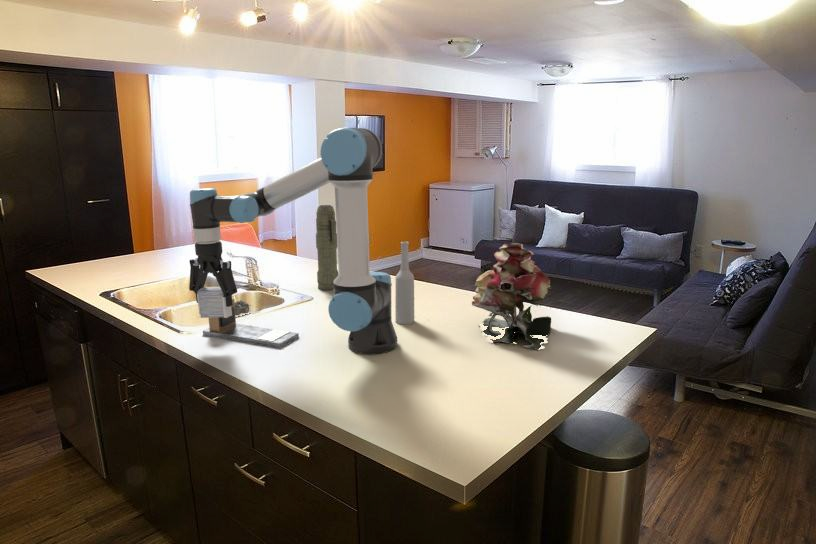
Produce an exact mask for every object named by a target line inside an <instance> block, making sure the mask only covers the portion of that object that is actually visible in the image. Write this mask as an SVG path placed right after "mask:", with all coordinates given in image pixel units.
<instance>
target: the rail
mask: <svg viewBox="0 0 816 544" xmlns="http://www.w3.org/2000/svg"><path fill="white" fill-rule="evenodd" d="M234 302H235V298H232V303H233V304H232V306H231V309H232V316H229V317H227V318H224V317H212V318H208V326H209V327H207V328H206V329H203V330H202V336H206V337H213V338H219V339H224V340H231V341H236V342H242V343H248V344H254V345H259V346H265V347H266V346H267V347H272V348H278V349H281V348H283V347H285V346H287V345H289V344H290V343H292V342H294V341H295V340H297V339H299V337H300V336H299V332H293V331H286V330H281V329H273V328H268V327H267V328H266V327H262V326H261V327H260V326H254V325H247V324H242V323H241V324H240V323H237V320H236V315H235V305H234Z"/></svg>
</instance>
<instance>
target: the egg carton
mask: <svg viewBox="0 0 816 544" xmlns="http://www.w3.org/2000/svg"><path fill="white" fill-rule="evenodd" d="M234 305H235V316H240V315H241V314H248V313H250V307H252V306H251V304H249V303H248V302H246V301H244V300H243V299H240V300H239V301H234Z"/></svg>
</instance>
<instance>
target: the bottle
mask: <svg viewBox="0 0 816 544" xmlns="http://www.w3.org/2000/svg"><path fill="white" fill-rule="evenodd" d="M400 244H401V245H400V269H399V271H398V273H397V274H396V275H395V292H394V293H395V295H394V296H395V297H394V298H395V307H394V308H395V313H394V314H395V315H394V316H395V323H396V324H399V325H404V324H405V325H411V323H412V324H413V323H415V276H414V274H413V273H412V272H411V270H410V264H409V263H410V262H409V244H410V243H409V241H401V242H400Z"/></svg>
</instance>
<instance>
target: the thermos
mask: <svg viewBox="0 0 816 544" xmlns="http://www.w3.org/2000/svg"><path fill="white" fill-rule="evenodd" d="M315 215H316V219H315V222H316V224H315V226H316V233H315V246H316V250H317V269H318V270H317V272H316V274H317V275H316V279H317V281H316V282H317V288H318V290H321V291H334V280H335V279H336V277H337V276H338V275H339V271H338V252H337V250H338V249H337V227H336V211H335V209H334V206H333V205H332V204H331V205H330V204H321V205H319V206H318V207H317V209H316V213H315Z"/></svg>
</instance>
